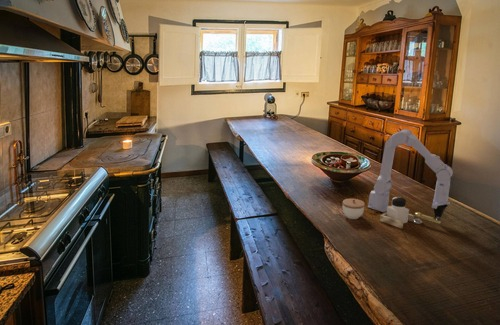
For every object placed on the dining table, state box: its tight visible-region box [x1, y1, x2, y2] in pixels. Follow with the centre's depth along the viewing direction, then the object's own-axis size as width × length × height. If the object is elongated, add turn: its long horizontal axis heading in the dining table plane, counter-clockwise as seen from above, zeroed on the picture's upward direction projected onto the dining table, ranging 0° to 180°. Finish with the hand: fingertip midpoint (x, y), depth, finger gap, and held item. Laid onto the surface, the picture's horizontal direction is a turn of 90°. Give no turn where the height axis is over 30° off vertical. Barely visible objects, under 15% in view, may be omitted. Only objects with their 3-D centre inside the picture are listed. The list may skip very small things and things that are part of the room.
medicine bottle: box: [386, 196, 410, 224], centre depth 169 cm, size 7×7×12 cm
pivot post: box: [411, 217, 423, 225], centre depth 169 cm, size 4×4×2 cm
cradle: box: [379, 211, 415, 229], centre depth 170 cm, size 11×12×3 cm
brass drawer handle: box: [414, 211, 442, 224], centre depth 165 cm, size 12×3×3 cm, turn 42°
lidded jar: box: [342, 198, 365, 220], centre depth 174 cm, size 11×11×9 cm
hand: (437, 218), depth 167 cm, fingers closed
